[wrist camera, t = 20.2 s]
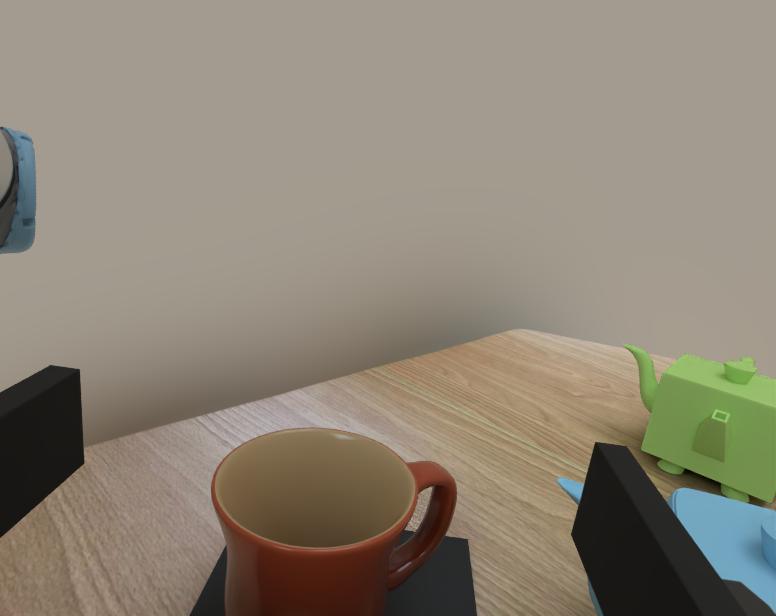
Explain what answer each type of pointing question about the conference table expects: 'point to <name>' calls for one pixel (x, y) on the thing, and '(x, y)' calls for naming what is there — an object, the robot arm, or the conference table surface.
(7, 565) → the conference table surface
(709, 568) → the robot arm
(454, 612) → the front mat
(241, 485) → the mug
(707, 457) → the kettle
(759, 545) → the teapot
